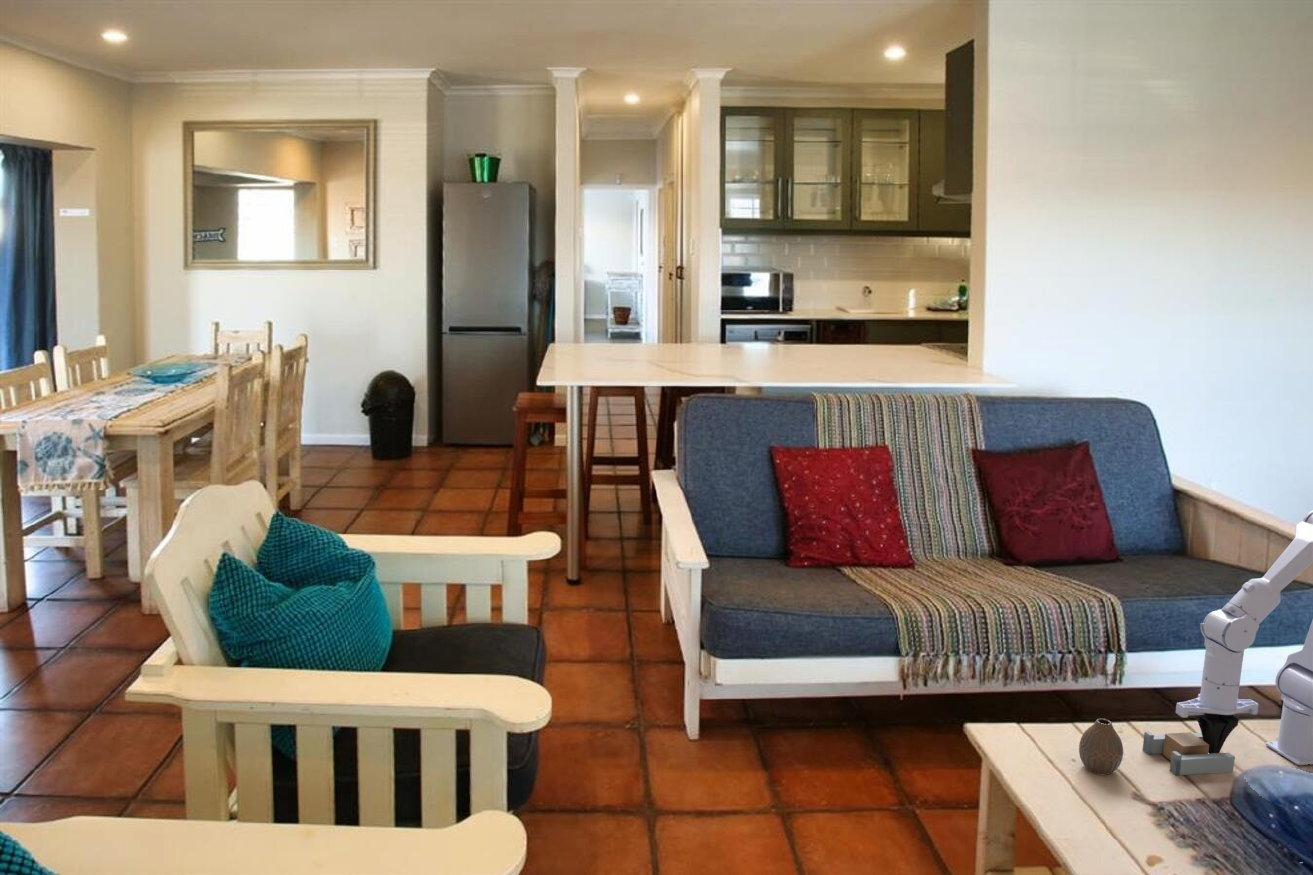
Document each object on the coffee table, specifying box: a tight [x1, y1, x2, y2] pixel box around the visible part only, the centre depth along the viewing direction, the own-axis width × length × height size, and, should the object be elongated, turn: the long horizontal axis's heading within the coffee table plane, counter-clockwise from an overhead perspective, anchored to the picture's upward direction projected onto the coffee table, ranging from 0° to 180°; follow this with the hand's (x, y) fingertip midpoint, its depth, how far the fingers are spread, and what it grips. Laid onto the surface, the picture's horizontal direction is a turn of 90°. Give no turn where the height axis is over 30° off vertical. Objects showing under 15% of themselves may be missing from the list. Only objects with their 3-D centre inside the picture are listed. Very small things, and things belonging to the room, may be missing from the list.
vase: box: [1078, 718, 1124, 776], centre depth 174 cm, size 7×7×9 cm
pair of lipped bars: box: [1142, 730, 1236, 776], centre depth 178 cm, size 11×9×4 cm
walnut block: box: [1162, 732, 1209, 761], centre depth 178 cm, size 5×5×4 cm
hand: (1211, 752), depth 179 cm, fingers closed
